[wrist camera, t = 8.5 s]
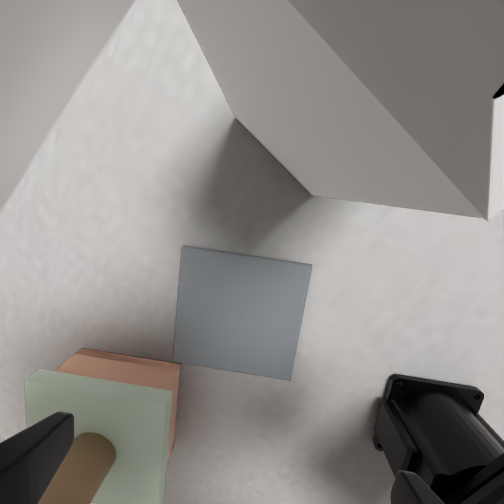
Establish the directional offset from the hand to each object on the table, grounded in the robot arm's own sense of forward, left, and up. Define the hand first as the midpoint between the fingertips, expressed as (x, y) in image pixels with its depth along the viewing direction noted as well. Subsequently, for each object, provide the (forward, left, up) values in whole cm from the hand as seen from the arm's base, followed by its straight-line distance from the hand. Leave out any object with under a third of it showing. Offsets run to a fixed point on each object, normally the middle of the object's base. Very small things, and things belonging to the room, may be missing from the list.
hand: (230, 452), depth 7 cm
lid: (+9, +11, -9) cm, 17 cm away
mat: (+1, +2, -12) cm, 13 cm away
